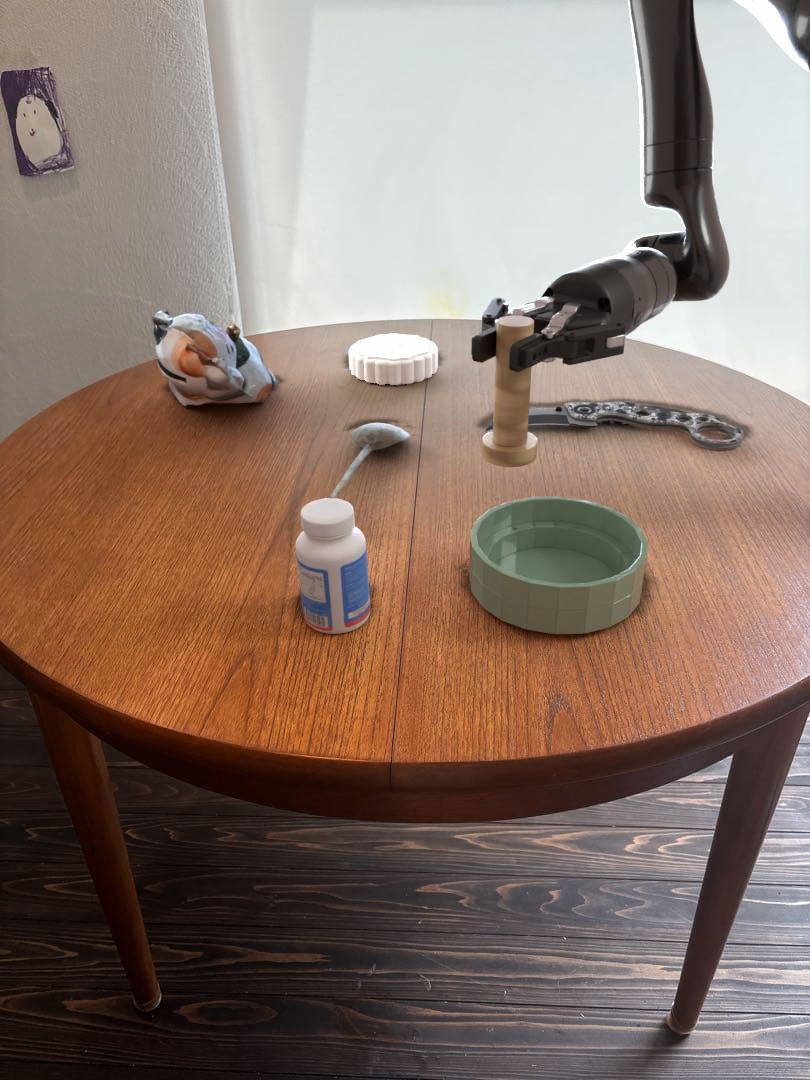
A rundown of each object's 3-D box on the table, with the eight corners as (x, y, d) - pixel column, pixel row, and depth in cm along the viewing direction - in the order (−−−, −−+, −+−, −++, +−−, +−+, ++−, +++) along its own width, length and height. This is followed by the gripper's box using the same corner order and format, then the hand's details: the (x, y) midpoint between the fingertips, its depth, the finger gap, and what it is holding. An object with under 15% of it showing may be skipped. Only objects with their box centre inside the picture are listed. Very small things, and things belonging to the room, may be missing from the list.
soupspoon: (418, 441, 99) (365, 437, 101) (417, 413, 98) (362, 410, 100) (351, 528, 81) (287, 522, 83) (348, 496, 80) (283, 490, 81)
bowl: (618, 543, 78) (624, 494, 76) (659, 638, 66) (668, 584, 64) (463, 547, 78) (464, 498, 76) (477, 643, 66) (479, 589, 64)
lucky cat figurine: (296, 396, 110) (265, 317, 98) (220, 452, 107) (178, 377, 95) (232, 337, 117) (195, 256, 105) (159, 388, 114) (113, 311, 102)
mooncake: (441, 384, 113) (441, 358, 111) (348, 387, 112) (347, 361, 110) (435, 354, 123) (435, 329, 121) (350, 356, 123) (349, 331, 121)
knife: (483, 426, 98) (495, 389, 106) (483, 438, 99) (495, 401, 107) (747, 448, 92) (739, 407, 100) (744, 461, 93) (736, 419, 101)
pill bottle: (366, 593, 72) (360, 489, 67) (375, 631, 68) (369, 524, 63) (300, 600, 72) (289, 496, 67) (305, 640, 67) (294, 531, 62)
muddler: (532, 443, 78) (540, 311, 72) (540, 466, 74) (549, 329, 68) (479, 444, 78) (483, 312, 72) (484, 468, 74) (488, 331, 68)
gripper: (536, 252, 82) (424, 293, 71) (677, 274, 74) (576, 324, 63) (532, 329, 86) (425, 380, 75) (664, 358, 78) (567, 419, 67)
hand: (495, 354), depth 69 cm, fingers closed on muddler, 3 cm apart
